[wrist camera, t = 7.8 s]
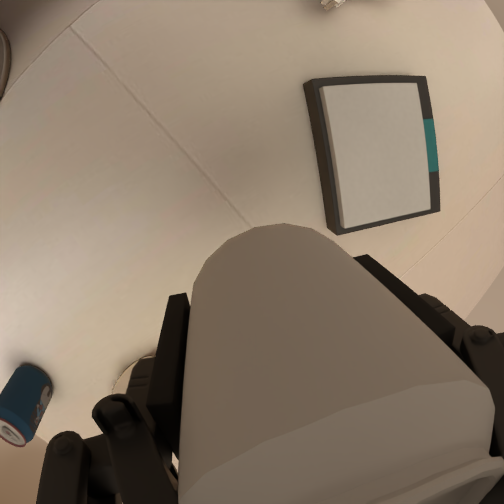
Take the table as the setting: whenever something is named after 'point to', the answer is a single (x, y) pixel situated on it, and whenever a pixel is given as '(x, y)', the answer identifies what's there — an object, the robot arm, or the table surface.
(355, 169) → the scale
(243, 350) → the can
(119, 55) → the table surface
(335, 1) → the spiral staircase
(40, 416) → the soda can
